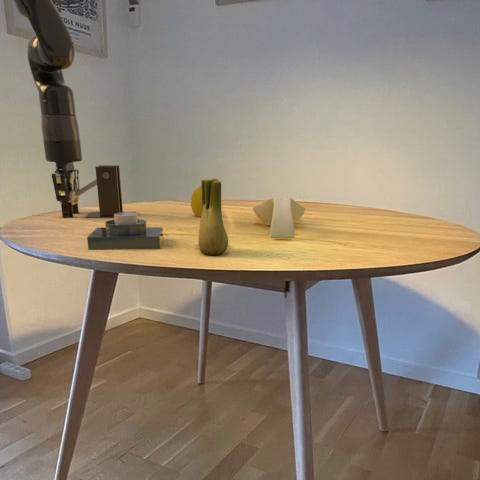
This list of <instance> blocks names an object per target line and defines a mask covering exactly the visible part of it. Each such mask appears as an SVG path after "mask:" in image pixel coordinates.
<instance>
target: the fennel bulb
mask: <svg viewBox="0 0 480 480" xmlns="http://www.w3.org/2000/svg"><path fill="white" fill-rule="evenodd" d="M201 185H202V213H201V217H200V221H199V228H198V229H199V230H198V238H197V239H198V240H197V241H198V247H199V248H198V249H199V251H200V253H201V254H203V255H206V256H218V255H219V256H220V255H221V254H223V253H224V252H226V250H227V249H228V247H229V237H228V233H227V231H226V228H225V225H224V220H223V214H222V213H223V212H222V181H221V180H219V179H218V178H207V179H205V178H204V179H201V183H200V186H201Z"/></svg>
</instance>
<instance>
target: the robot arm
mask: <svg viewBox="0 0 480 480" xmlns="http://www.w3.org/2000/svg"><path fill="white" fill-rule="evenodd" d="M13 3H14V7H15V8H16V10H17V13H18V14H19V15H20V16H21V18H24V19H26V20H28V22H29V24H30V26H31V28H32V30H33V32H34V35H32V36H31V37H30V38H29V40H28V43H27V49H26V55H27V61H28V66H29V69H30V72H31V76H32V79H33V81H34V84H35V87H36V90H37V93H38V102H39V103H38V104H39V109H40V115H41V116H40V117H41V118H40V119H41V121H40V122H41V123H40V124H41V126H40V127H41V133H42V141H43V148H44V149H43V150H44V157H45V160H46V162H50V163H55V170H54V173H51V179H52V183H53V189H54V194H55V199H56V201H57V202H59V203H60V206H61V214H62V218H65V219H67V218H74V215H75V214H76V215H78V214H80V212H79V211H80V210H79V202H78V203H77V204H75V205H72V193H73V192H74V191H75V192H77V191H78V190H80V175H79V174H80V171H79V169H76V168H75V164H74V163H78V162H82V160H83V155H82V145H81V137H80V135H81V134H80V128H79V123H78V119H77V111H76V110H77V109H76V102H75V95H74V91H73V89H72V88H71V87H70V86H68V85H67V84H66V82H65V77H64V73H63V71H64V70H67V69H68V68H71V66H72V65H73V64H74V61H75V57H76V53H75V45H74V41H73V38H72V36H71V33H70V31H69V29H68V28H67V26H66V24H65V22H64V20H63V18H62V16H61V14H60V13H59V10H58V9H57V8H56V6H55V4H54V1H53V0H13ZM64 194H65V195H64Z"/></svg>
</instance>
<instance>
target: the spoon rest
mask: <svg viewBox="0 0 480 480" xmlns="http://www.w3.org/2000/svg"><path fill="white" fill-rule="evenodd" d="M252 210H253V213H254V214H255V216H256V217H257V218H258V219H259V220H260V221H261V222H263V223H264V225H266V226H269V229H270V230H269V238H270V239H285V240H286V239H294V238H295V223H296V222H297V221H299V220H300V219H301V218H302V217H303V216H304V215H305V212H306V210H307V207H306V206H304V205H302V204H300V203H298V202H297V201H296V200H295V199H293V198H292V197H289V196H288V197H285V198H278V197H271V198H267V199H266V200H264V201H262V202H261V203H258V204H256V205H253V206H252Z"/></svg>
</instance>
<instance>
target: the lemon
mask: <svg viewBox="0 0 480 480" xmlns="http://www.w3.org/2000/svg"><path fill="white" fill-rule="evenodd" d="M190 207H191V208H190V209H191V210H192V213H193V215H195V216H196V217H198V218H201V213H202V185H201V184H200V186H198V187H197V188H195V189H194V190H193V191H192V194H191V198H190Z"/></svg>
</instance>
